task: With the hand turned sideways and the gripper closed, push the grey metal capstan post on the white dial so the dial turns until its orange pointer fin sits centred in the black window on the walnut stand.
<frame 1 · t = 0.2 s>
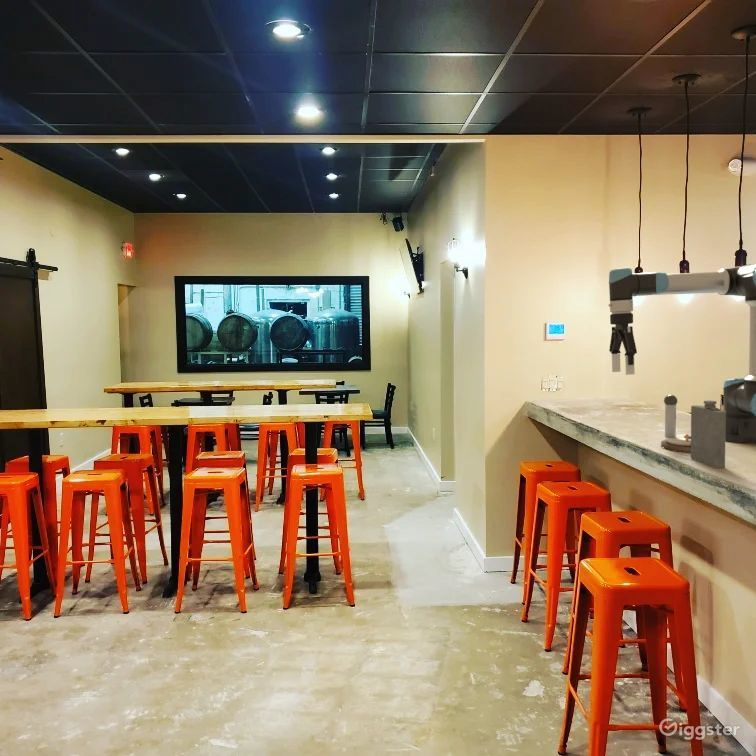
hand: (623, 373, 221), 27 cm above the countertop, tool pointing down, fingers open, 13 cm apart
hip flask: (708, 463, 200), on the countertop
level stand: (688, 447, 224), on the countertop
cam dial: (688, 418, 223), point 10 cm above the countertop, hinge at -30.0°
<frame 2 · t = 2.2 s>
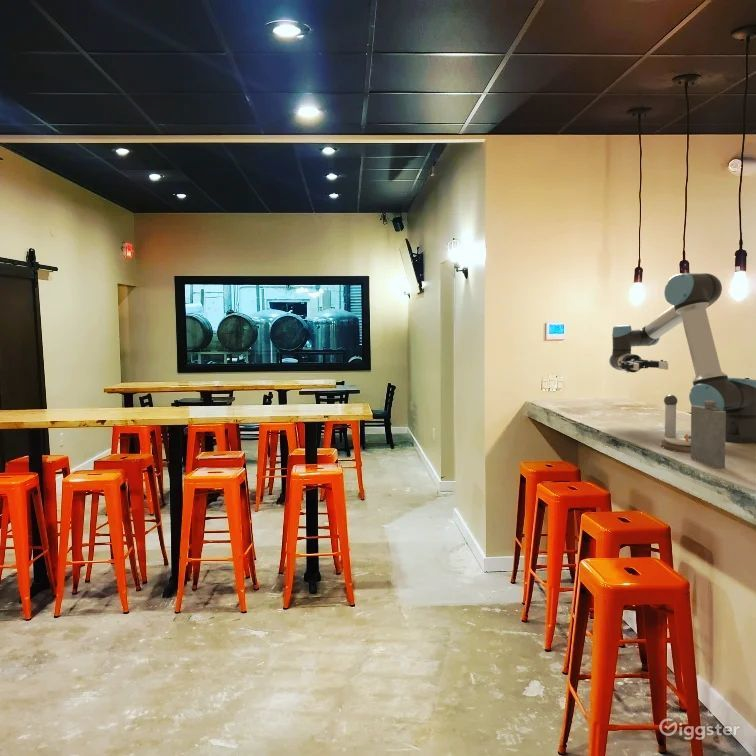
hand: (652, 366, 239), 28 cm above the countertop, tool horizontal, fingers open, 10 cm apart
nothing on the countertop moved.
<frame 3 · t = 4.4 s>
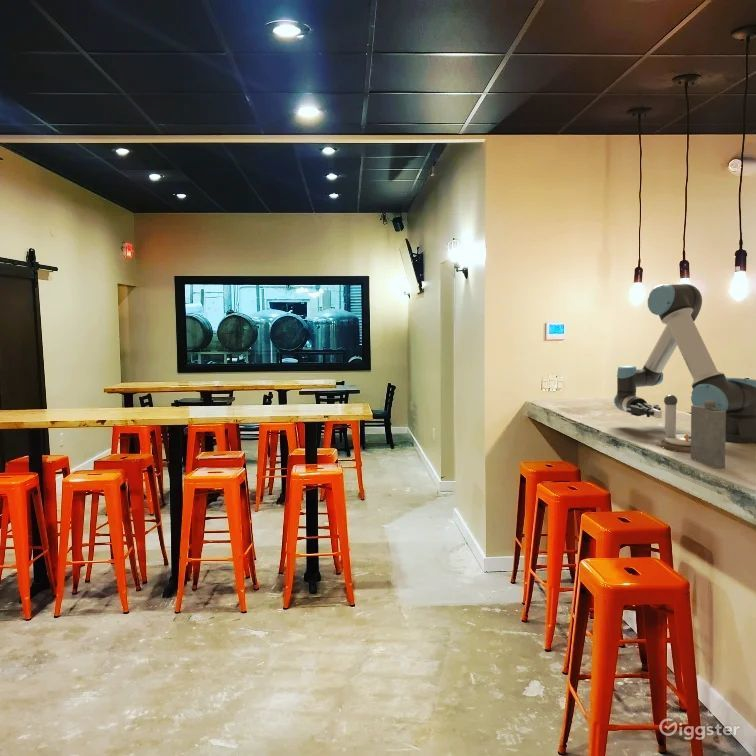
hand: (659, 414, 233), 10 cm above the countertop, tool horizontal, fingers closed
nothing on the countertop moved.
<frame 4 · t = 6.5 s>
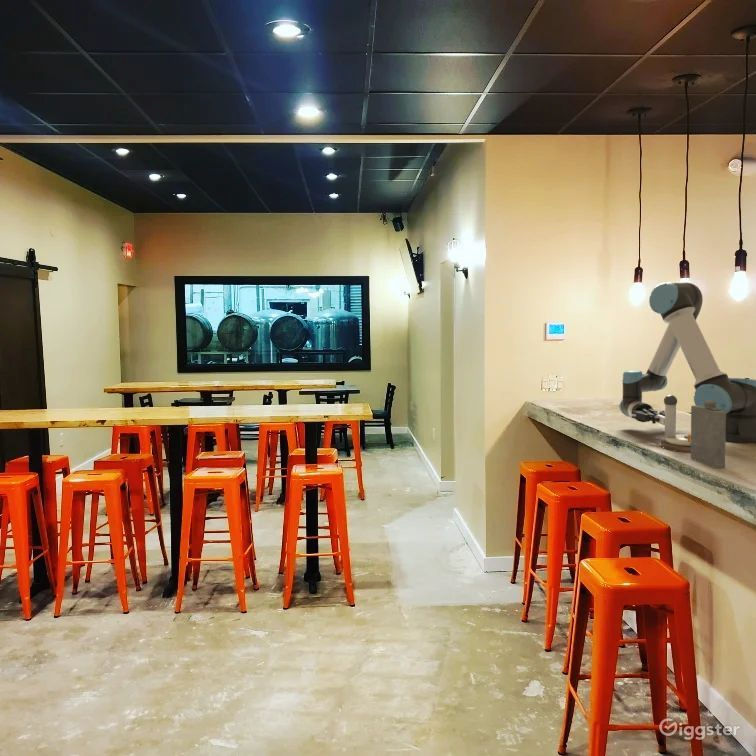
hand: (665, 421, 228), 9 cm above the countertop, tool horizontal, fingers closed
cam dial: (688, 418, 223), point 10 cm above the countertop, hinge at -24.6°, touching gripper
everything else where it was.
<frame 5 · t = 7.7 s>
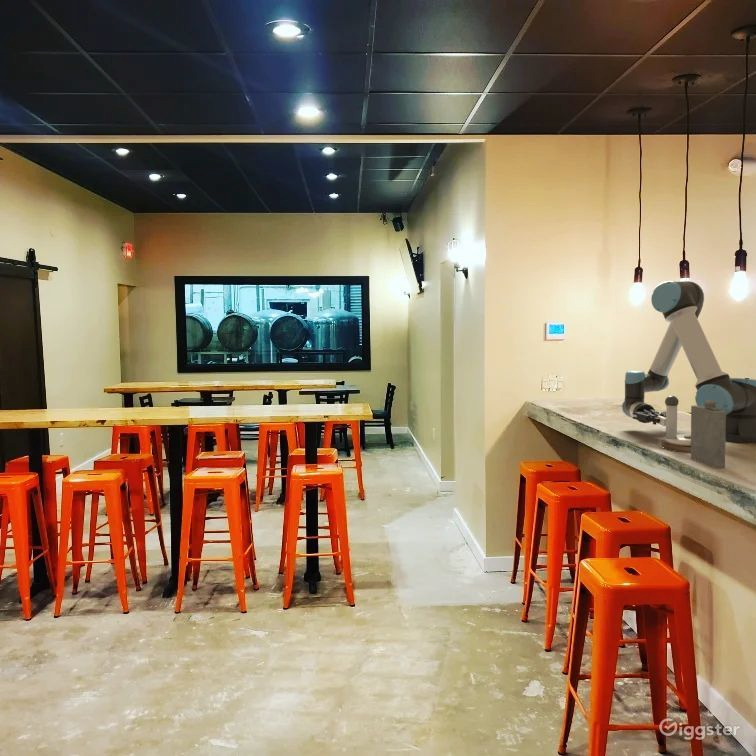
hand: (665, 422, 225), 9 cm above the countertop, tool horizontal, fingers closed
cam dial: (688, 418, 223), point 10 cm above the countertop, hinge at -3.3°, touching gripper
everything else where it was.
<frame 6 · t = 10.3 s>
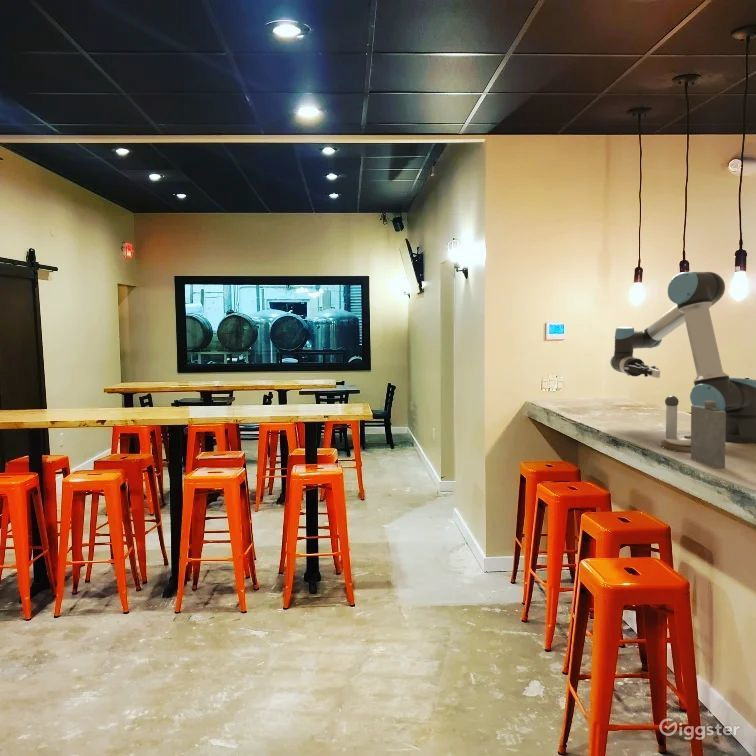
hand: (658, 374, 236), 25 cm above the countertop, tool horizontal, fingers closed
cam dial: (688, 418, 223), point 10 cm above the countertop, hinge at -3.1°
everything else where it was.
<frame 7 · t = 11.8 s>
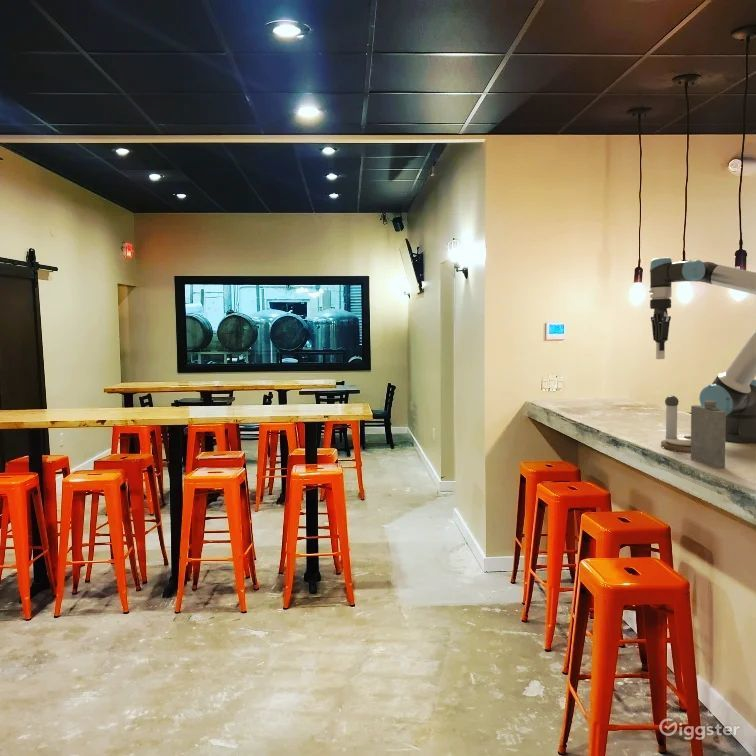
hand: (660, 359, 245), 30 cm above the countertop, tool pointing down, fingers closed
nothing on the countertop moved.
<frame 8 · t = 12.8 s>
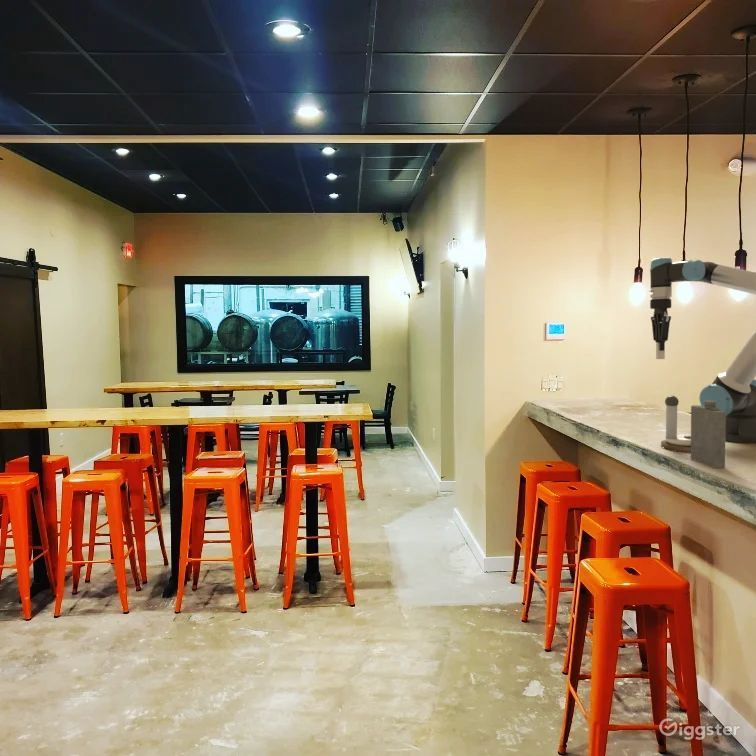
hand: (660, 358, 245), 30 cm above the countertop, tool pointing down, fingers closed
nothing on the countertop moved.
at the end: cam dial at -3° (first picture: -30°) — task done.
